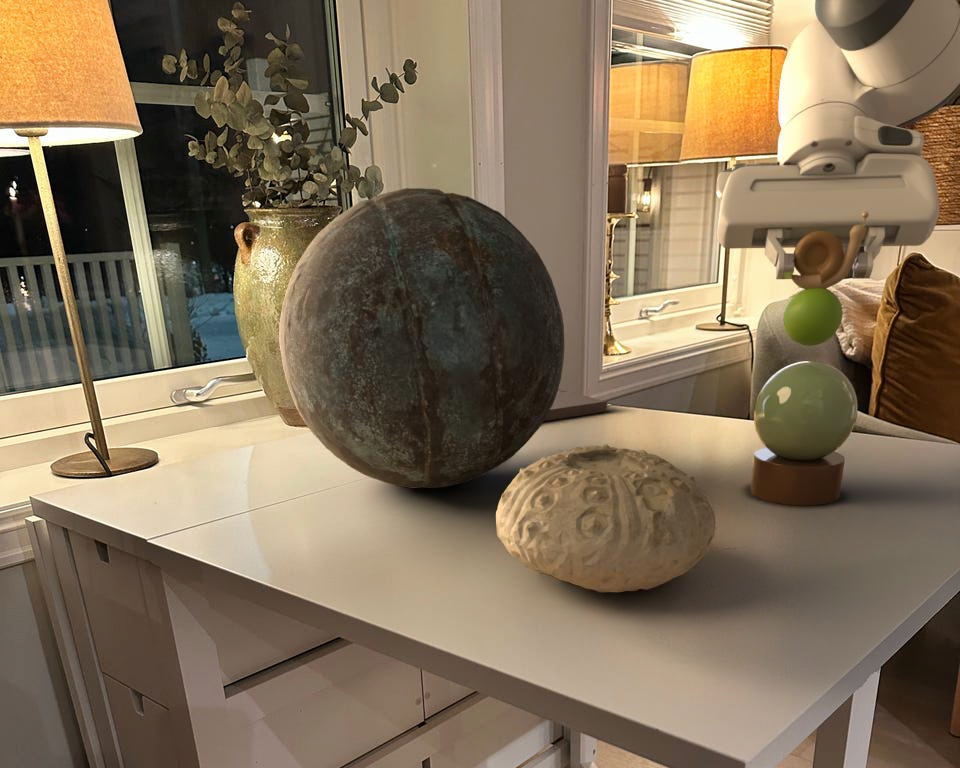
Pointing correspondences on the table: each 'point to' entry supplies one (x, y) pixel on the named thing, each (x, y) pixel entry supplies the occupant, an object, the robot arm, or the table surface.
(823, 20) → the robot arm
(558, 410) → the notebook
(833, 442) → the ball stand
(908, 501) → the table surface
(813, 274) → the snail figurine
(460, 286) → the metal sphere
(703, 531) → the decorative shell
